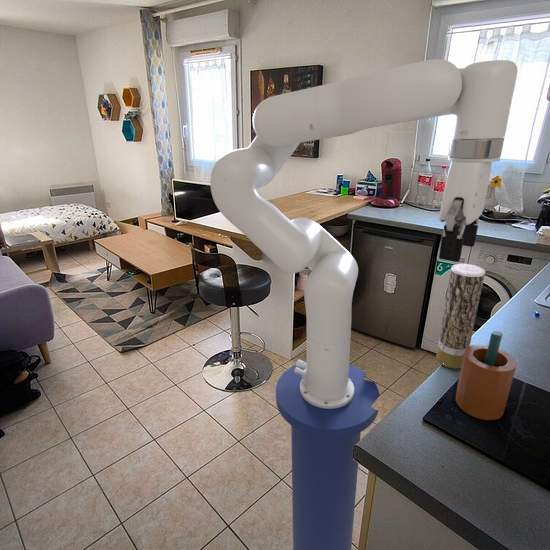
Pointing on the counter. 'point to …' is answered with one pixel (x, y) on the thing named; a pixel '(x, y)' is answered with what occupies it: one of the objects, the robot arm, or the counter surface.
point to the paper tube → (459, 313)
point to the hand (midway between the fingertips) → (457, 252)
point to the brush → (493, 348)
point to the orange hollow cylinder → (484, 383)
